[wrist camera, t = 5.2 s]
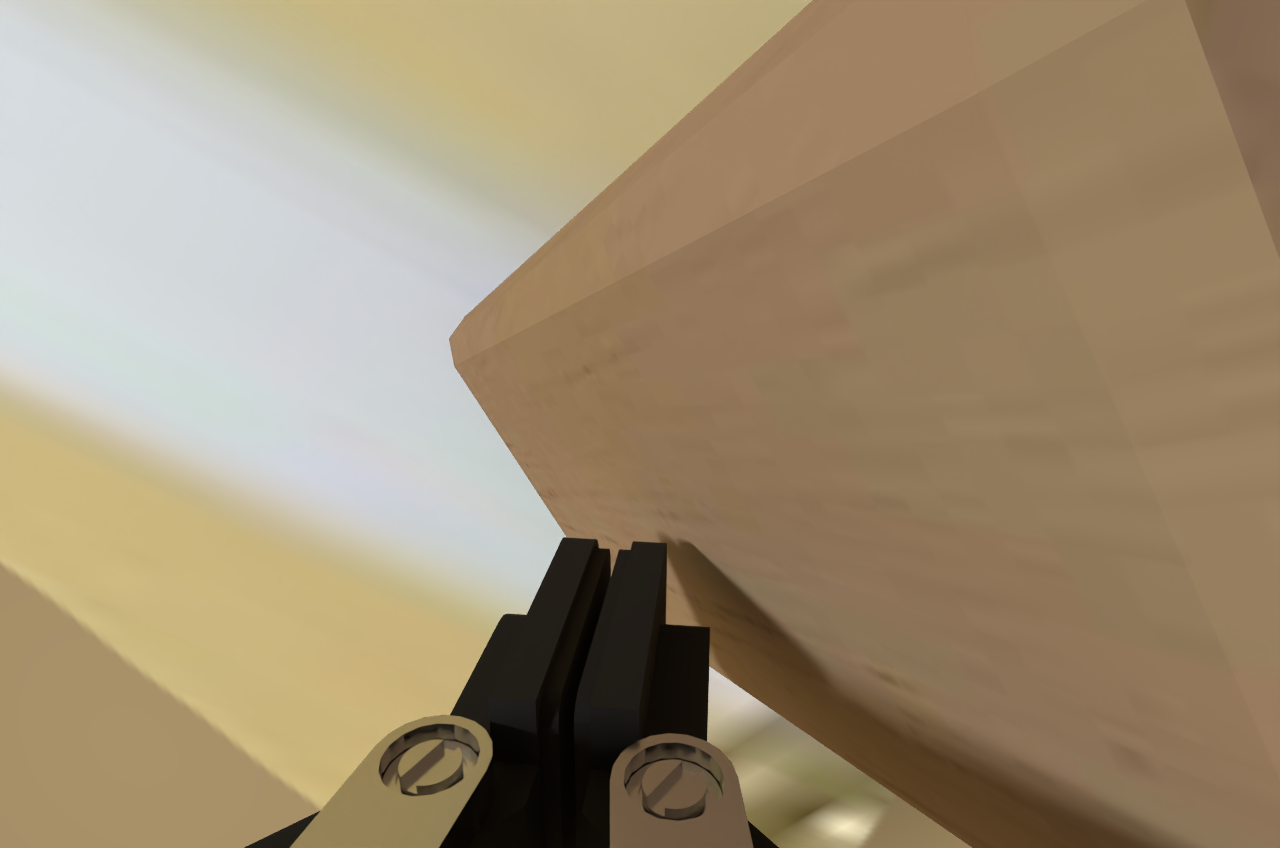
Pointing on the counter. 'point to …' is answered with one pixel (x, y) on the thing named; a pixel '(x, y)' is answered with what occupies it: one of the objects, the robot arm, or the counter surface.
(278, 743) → the counter surface
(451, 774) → the robot arm
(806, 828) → the counter surface
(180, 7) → the counter surface
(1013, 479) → the block
